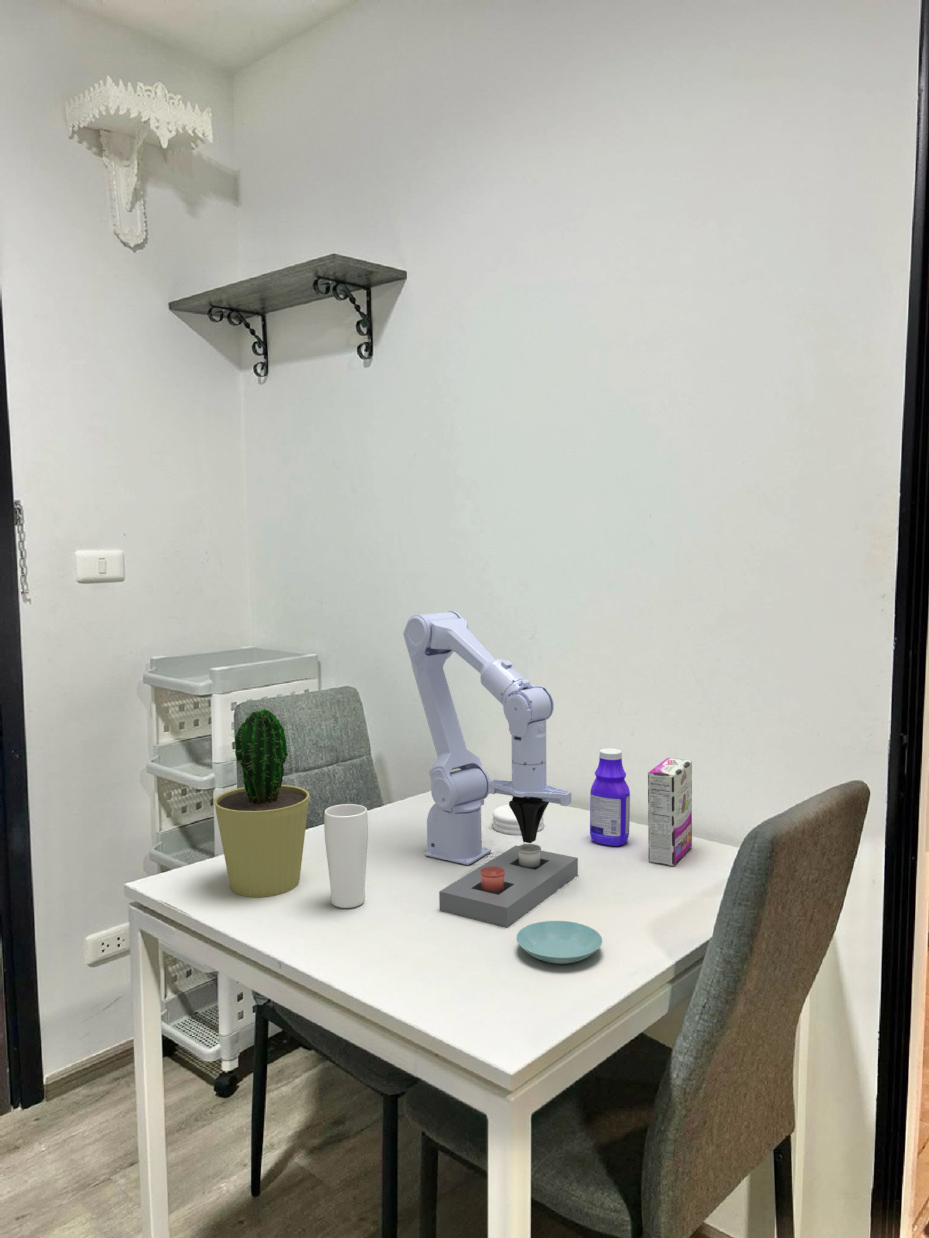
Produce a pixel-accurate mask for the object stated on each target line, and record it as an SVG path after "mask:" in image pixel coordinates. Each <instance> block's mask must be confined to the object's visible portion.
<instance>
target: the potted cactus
mask: <svg viewBox="0 0 929 1238" xmlns="http://www.w3.org/2000/svg"><path fill="white" fill-rule="evenodd" d="M273 712H274V710H273V709H272V710H271V709H269V710H268V709H267V708H261V709H259V708H258V707H256V709H254V711H252V712H250V713H249V712H247V713H246V714H245V715H246V718H245V719H244V721H243V722H242V723H241V722H240V721H238V719H236V718H235V719H236V721H237V722H238V726H237V727H239V728H238V729H237V731H236V732H235V733H236V734H233V732H231V735H232V737H233V738H234V739H235V740H234V742H233V745H235V748H234V750H233V753H235V757H233V760H234V759H235V760H236V764H237V765H238V768H237V769H235V771H237V770H238V769H240V771H241V773H240V776H242V777H241V778H240V780H242V783H243V785H244V786H243V787H239V788H234V789H231V790H228V791H225V792H223V793H221V794H219V795H217V796H216V797H215V798H214V799H213V804H214V807H215V808H214V809H215V813H216V820H217V823H218V824H217V825H218V830H219V834H220V840H221V845H222V851H223V856H224V861H225V865H226V867H225V868H226V871H227V875H228V876H227V877H228V882H229V886H230V889H231V891H232V892H233V893H234V894H237V895H239V896H242V897H249V898H263V897H265V898H267V897H273V896H278V895H282V894H286V893H287V892H290V891H292V890H294V889H295V888H296V887H297V886H298V885H299V883H300V879H301V871H302V863H303V852H304V844H305V836H306V828H307V821H308V820H307V818H308V811H309V802H310V801H309V798H310V792H309V791H308V790H306V789H305V788H302V787H299V786H295V785H289V784H287V782H285V780H284V778H283V777H284V774H285V769H287V767H286V766H285V767H284V765H285V764H286V763H288V764H290V765H291V764H292V763H291V762H289V761H294V760H292V759H291V758H289V757H290V756H289V753H290V750H289V749H288V747H290V746H291V744H289V745H288V746H287V739H288V734H287V733H285V729H284V727H285V726H286V724H287V723H284V722H281V719H278V718H277V716H276V714H274V713H273ZM286 729H288V728H286ZM288 752H289V753H288ZM288 758H289V759H288ZM230 760H232V757H231V758H230ZM292 765H293V764H292ZM282 783H284V784H282Z"/></svg>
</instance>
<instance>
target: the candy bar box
mask: <svg viewBox="0 0 929 1238" xmlns="http://www.w3.org/2000/svg"><path fill="white" fill-rule="evenodd" d="M692 764H693V760H690V759H682V758H674V757H666V758H665V759H664V760H663V761H661V762H659V764H657V765H656V766H654V767H653V768H652V769H650V770H649V771H648V772H647V806H648V807H647V811H648V815H647V817H648V823H647V825H648V828H647V829H648V842H647V843H648V862H649V863H651V864H655V865H660V866H661V865H662V866H669V867H675V866H676V865H677V864H678V863H679V862H680V861H681V860H682V858H683V857H684V856H685V855H686V854H687V853H688V852H689V850H691V849H692V847H693V843H692V842H693V841H692V840H693V837H692V836H693V835H692V834H693V823H692V821H693V818H692V817H693V807H692V805H693V804H692V802H693V800H692V799H693V795H692V793H693V791H692V790H693V789H692V788H693V786H692V783H693V782H692V781H693V779H692V778H693V776H692V775H693V770H692V768H693V765H692Z"/></svg>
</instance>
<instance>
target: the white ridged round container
mask: <svg viewBox="0 0 929 1238" xmlns="http://www.w3.org/2000/svg"><path fill="white" fill-rule="evenodd" d="M491 820H492V828H493V829H494V830H495V831H496V832H498V833H501V834H505V835H510V836H512V835H513V836H522V834H521V831H520V827H519V824H518V822H517V819H516V817H515V815H514V813H513V811H512V809H511V808H510V806H509V804H504V805H500V806H497V807H496V808H494V809H493V811H492V819H491ZM543 828H544V815H543V816H542V818H541V821H540V824H539V827H538V831H537V833H538V832H540V831H541V830H543Z"/></svg>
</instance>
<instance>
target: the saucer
mask: <svg viewBox="0 0 929 1238" xmlns="http://www.w3.org/2000/svg"><path fill="white" fill-rule="evenodd" d="M516 942H517V944H518V945H519V946H520V947H521V949H523V951H524V952H526V953H528V954H529V955H530V956H532V957H533V958H535V959H537V960H540V961H542V962H544V963H545V962H546V963H549V964H554V965H556V964H557V965H568V964H572V963H576V962H577V963H578V962H580V961H582V960H585V959H586V958H588V957H590V956H592V955H593V954H594V953H595V952H597V951H598V950H599V948H600V947H601V946H602V945H603V938H602V935H601V934H600V933H599V932H598V931H597V930H596V929H595V928H592V927H590V926H589V925H585V924H582V923H579V922H574V921H567V920H545V921H538V922H534V923H532V924H528V925H526V926H524V927H523V928H521V929H520V930H519V931H518V932H517V934H516Z"/></svg>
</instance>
